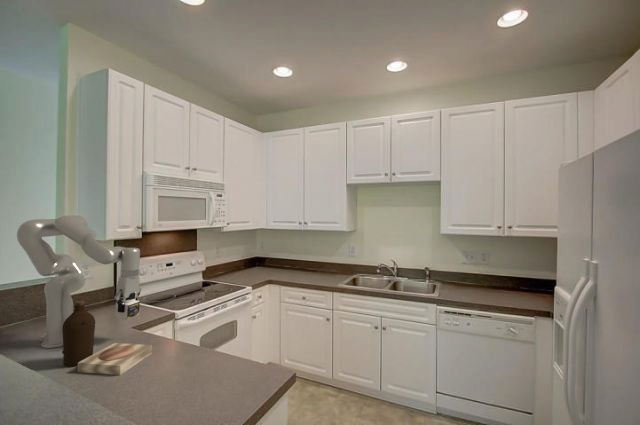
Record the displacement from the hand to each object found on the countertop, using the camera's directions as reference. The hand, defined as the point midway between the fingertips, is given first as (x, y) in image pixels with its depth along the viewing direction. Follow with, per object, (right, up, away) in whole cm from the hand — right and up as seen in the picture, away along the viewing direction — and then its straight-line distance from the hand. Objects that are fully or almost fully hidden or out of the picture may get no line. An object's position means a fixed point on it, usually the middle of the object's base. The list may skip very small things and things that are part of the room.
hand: (127, 309), depth 143 cm
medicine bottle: (0, -4, 0) cm, 4 cm away
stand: (+10, -15, -21) cm, 28 cm away
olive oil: (-7, -15, -21) cm, 27 cm away
